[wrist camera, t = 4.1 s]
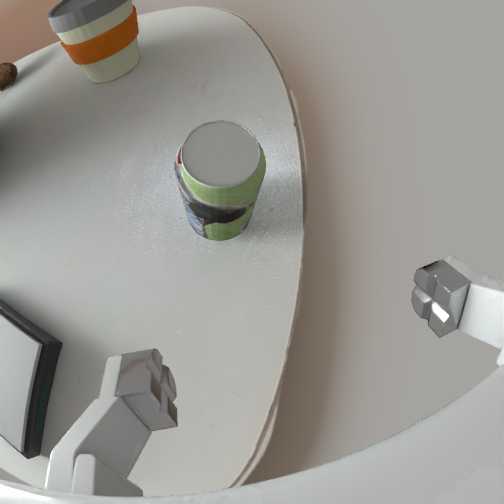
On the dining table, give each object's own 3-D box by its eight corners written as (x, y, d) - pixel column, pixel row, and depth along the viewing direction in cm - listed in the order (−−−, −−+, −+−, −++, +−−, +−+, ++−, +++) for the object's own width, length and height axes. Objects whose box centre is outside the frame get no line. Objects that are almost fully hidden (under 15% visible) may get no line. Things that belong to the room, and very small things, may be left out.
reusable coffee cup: (153, 72, 36) (128, -11, 22) (77, 102, 35) (37, 31, 21) (148, 37, 40) (129, -30, 26) (83, 62, 39) (55, 1, 25)
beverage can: (212, 178, 30) (192, 93, 19) (275, 210, 29) (286, 129, 18) (177, 227, 29) (134, 155, 17) (241, 264, 28) (231, 205, 16)
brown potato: (-18, 87, 37) (-18, 68, 32) (9, 72, 42) (11, 53, 37) (-7, 106, 39) (-7, 86, 34) (21, 89, 44) (23, 70, 39)
